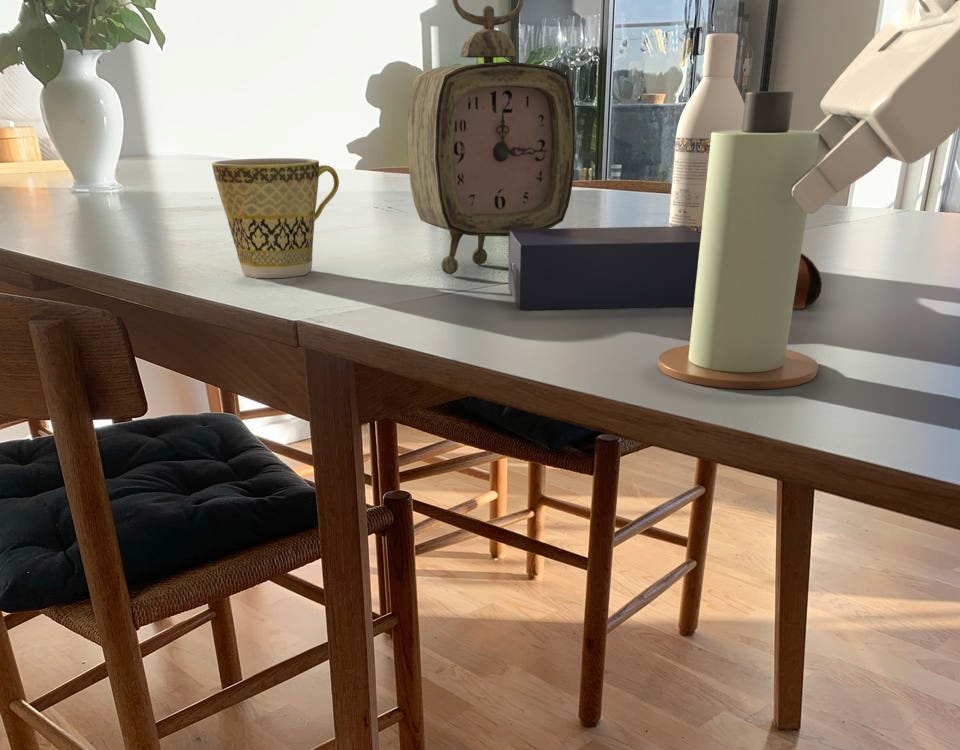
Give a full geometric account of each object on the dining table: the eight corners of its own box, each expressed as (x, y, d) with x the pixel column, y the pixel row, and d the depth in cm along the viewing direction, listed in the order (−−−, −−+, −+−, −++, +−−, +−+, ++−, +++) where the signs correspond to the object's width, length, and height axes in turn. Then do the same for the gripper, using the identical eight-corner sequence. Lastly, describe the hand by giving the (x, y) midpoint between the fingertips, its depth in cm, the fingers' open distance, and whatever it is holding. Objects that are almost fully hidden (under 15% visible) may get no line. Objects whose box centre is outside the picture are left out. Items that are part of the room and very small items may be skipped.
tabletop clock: (438, 279, 90) (429, -40, 78) (405, 266, 98) (392, -29, 85) (571, 268, 96) (582, -34, 83) (530, 256, 103) (535, -23, 90)
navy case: (681, 284, 87) (687, 226, 85) (712, 306, 79) (719, 241, 76) (507, 288, 86) (507, 229, 84) (518, 310, 78) (519, 245, 75)
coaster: (784, 348, 66) (786, 340, 65) (842, 387, 57) (843, 378, 57) (643, 351, 65) (643, 344, 65) (679, 391, 57) (680, 383, 56)
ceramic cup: (259, 285, 89) (244, 166, 84) (208, 272, 95) (192, 161, 90) (371, 269, 96) (365, 159, 91) (318, 258, 102) (309, 155, 97)
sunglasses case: (679, 266, 92) (721, 202, 89) (736, 304, 94) (779, 242, 91) (717, 303, 77) (769, 226, 74) (784, 347, 79) (838, 274, 76)
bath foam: (718, 256, 101) (743, 36, 91) (744, 267, 95) (773, 31, 85) (656, 259, 100) (674, 36, 90) (678, 269, 94) (700, 32, 84)
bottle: (766, 348, 64) (802, 91, 56) (798, 371, 58) (843, 91, 51) (678, 350, 63) (703, 92, 56) (702, 374, 58) (733, 92, 50)
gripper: (1123, 30, 41) (848, 264, 48) (990, 46, 59) (801, 216, 65) (1043, -94, 40) (770, 165, 46) (930, -40, 57) (743, 143, 64)
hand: (788, 195), depth 56 cm, fingers open, 8 cm apart
